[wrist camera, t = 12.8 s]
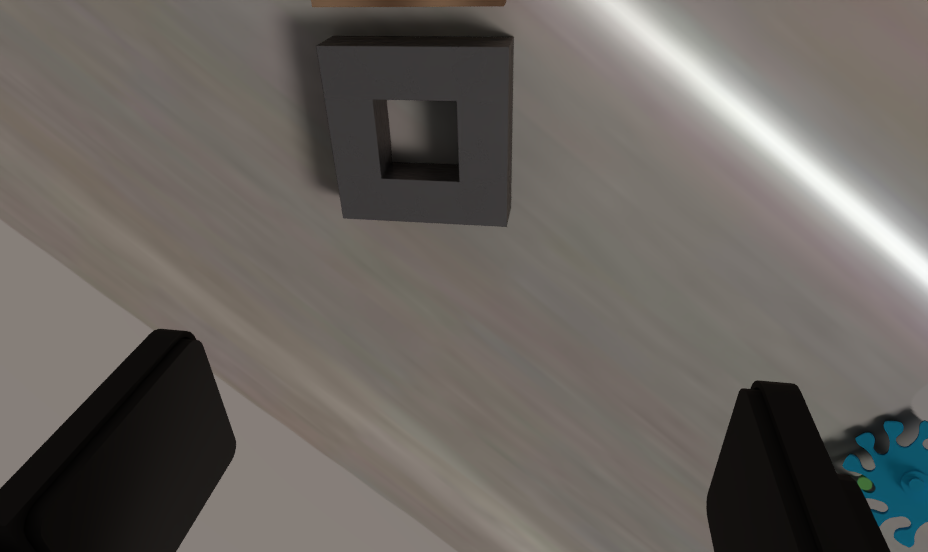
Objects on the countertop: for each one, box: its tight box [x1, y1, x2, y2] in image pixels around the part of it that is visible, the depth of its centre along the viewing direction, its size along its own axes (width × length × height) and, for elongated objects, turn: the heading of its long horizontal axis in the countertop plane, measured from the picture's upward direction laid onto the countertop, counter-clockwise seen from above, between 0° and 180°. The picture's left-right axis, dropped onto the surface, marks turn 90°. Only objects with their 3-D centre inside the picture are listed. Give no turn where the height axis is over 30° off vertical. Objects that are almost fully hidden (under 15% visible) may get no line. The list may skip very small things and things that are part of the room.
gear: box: [842, 420, 928, 547], centre depth 49 cm, size 11×6×10 cm
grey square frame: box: [316, 36, 514, 227], centre depth 40 cm, size 12×12×3 cm
